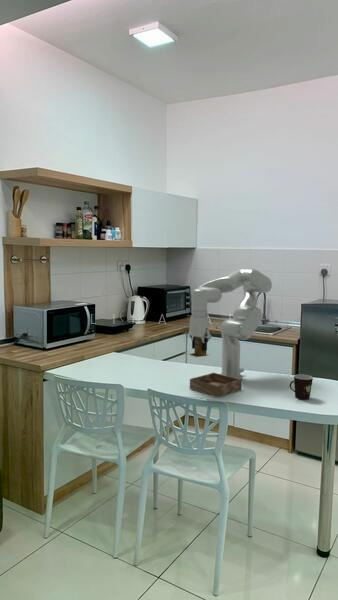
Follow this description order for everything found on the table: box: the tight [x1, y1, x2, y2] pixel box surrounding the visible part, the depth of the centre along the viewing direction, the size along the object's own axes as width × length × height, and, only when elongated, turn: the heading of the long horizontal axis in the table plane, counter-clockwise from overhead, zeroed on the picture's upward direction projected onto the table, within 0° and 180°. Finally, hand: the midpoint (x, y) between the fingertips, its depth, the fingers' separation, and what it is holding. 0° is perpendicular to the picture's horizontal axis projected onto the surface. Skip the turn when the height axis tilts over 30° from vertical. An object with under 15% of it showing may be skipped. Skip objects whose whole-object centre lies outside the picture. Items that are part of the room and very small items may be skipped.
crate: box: [189, 372, 243, 398], centre depth 225 cm, size 18×18×5 cm
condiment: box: [188, 336, 210, 358], centre depth 228 cm, size 7×8×12 cm
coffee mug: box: [289, 373, 314, 401], centre depth 213 cm, size 12×9×10 cm
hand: (199, 349), depth 228 cm, fingers closed on condiment, 6 cm apart
